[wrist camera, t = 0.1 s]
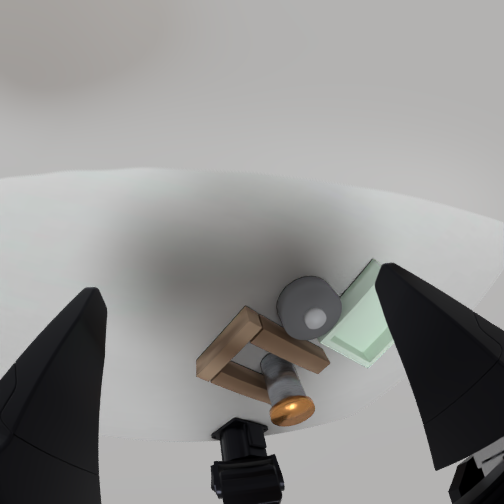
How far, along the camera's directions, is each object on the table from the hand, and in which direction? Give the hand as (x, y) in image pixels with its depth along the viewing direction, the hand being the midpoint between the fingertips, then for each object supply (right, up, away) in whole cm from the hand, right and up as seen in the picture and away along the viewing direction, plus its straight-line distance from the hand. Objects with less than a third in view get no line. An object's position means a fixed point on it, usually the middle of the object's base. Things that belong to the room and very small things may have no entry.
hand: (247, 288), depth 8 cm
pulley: (+6, -4, +19) cm, 20 cm away
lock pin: (+3, -12, +22) cm, 25 cm away
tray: (+14, -6, +21) cm, 26 cm away
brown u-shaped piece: (+1, -11, +21) cm, 24 cm away
